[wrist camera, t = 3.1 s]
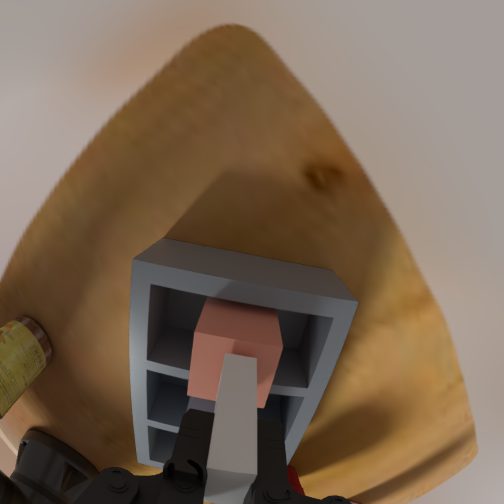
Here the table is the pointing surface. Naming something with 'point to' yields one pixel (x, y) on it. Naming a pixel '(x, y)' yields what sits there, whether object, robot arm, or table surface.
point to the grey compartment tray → (187, 316)
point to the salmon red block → (234, 345)
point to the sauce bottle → (20, 358)
